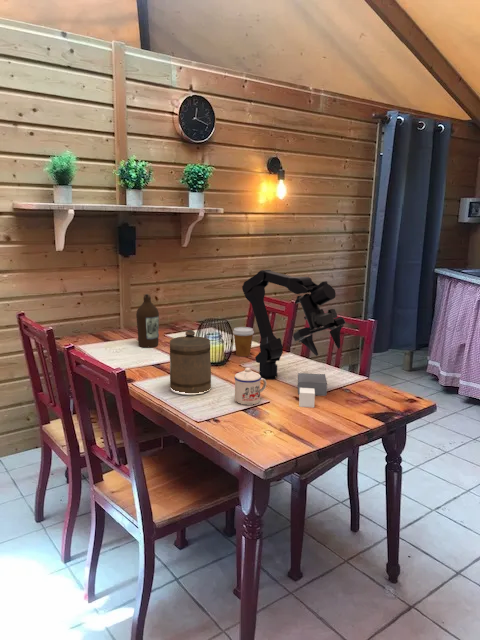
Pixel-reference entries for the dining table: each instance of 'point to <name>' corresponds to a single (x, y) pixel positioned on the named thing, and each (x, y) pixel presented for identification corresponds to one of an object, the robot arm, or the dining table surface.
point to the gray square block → (313, 383)
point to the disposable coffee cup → (243, 340)
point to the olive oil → (147, 323)
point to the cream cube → (306, 397)
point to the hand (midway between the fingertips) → (328, 351)
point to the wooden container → (190, 363)
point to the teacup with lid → (248, 387)
